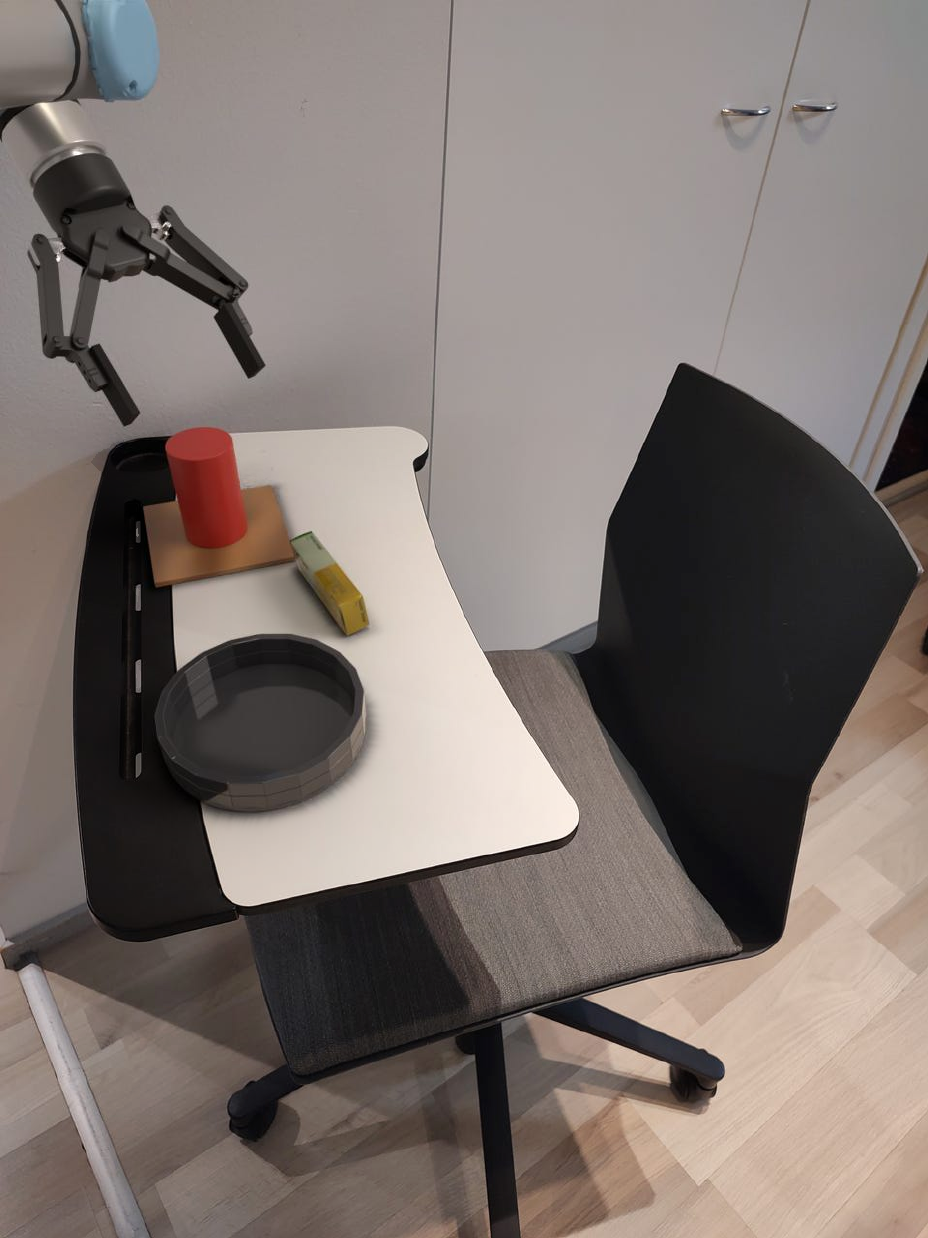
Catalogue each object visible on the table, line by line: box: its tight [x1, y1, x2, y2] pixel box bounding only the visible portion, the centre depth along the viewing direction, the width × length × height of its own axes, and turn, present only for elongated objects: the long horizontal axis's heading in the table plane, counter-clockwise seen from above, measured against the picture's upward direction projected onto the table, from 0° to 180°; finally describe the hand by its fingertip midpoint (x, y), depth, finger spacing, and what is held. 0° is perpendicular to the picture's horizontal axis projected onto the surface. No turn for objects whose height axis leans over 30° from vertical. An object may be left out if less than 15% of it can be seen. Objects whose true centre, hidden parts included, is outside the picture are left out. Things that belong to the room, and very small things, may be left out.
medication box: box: [290, 530, 371, 636], centre depth 85 cm, size 12×3×4 cm, turn 31°
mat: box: [142, 484, 296, 588], centre depth 94 cm, size 14×14×1 cm
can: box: [165, 426, 247, 548], centre depth 90 cm, size 6×6×10 cm
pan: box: [154, 633, 367, 813], centre depth 72 cm, size 16×16×4 cm
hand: (197, 395), depth 80 cm, fingers open, 13 cm apart
